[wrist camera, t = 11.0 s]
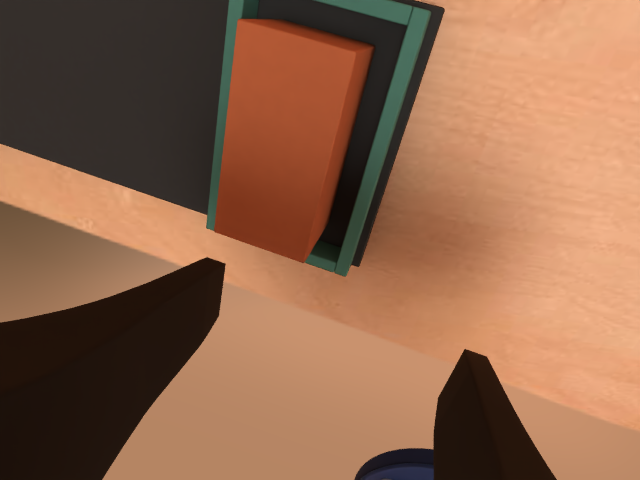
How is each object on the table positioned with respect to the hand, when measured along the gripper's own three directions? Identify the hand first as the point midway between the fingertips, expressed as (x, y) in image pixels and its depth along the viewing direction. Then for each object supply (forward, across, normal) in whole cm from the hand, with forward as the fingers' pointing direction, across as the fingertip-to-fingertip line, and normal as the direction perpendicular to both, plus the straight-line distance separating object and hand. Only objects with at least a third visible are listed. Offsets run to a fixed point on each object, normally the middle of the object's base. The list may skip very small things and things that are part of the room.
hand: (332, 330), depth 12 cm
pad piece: (+8, +4, -3) cm, 10 cm away
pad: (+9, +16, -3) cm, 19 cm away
